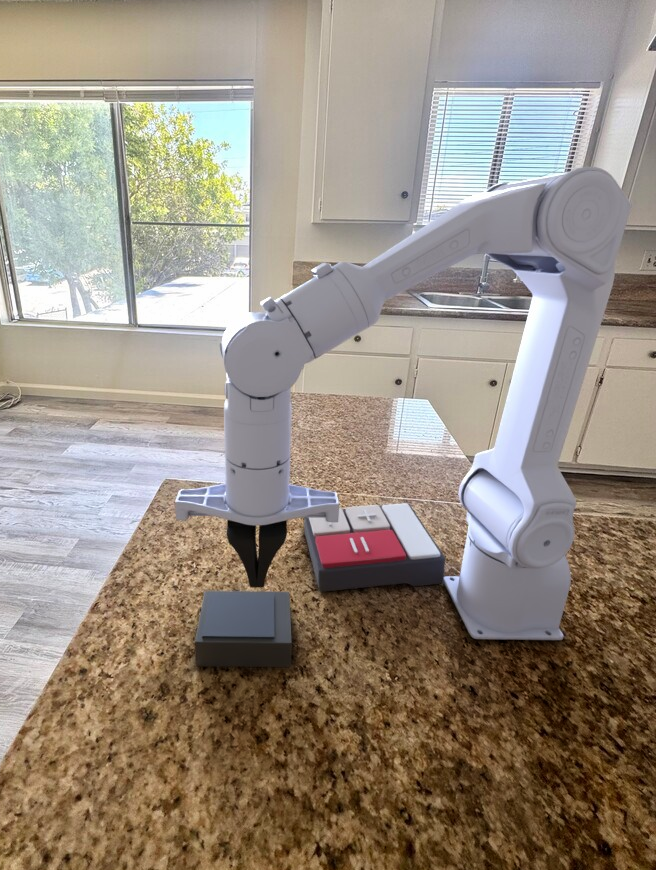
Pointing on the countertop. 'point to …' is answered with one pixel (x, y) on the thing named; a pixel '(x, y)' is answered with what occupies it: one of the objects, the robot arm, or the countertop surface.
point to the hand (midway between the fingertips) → (257, 579)
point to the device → (244, 629)
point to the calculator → (373, 548)
